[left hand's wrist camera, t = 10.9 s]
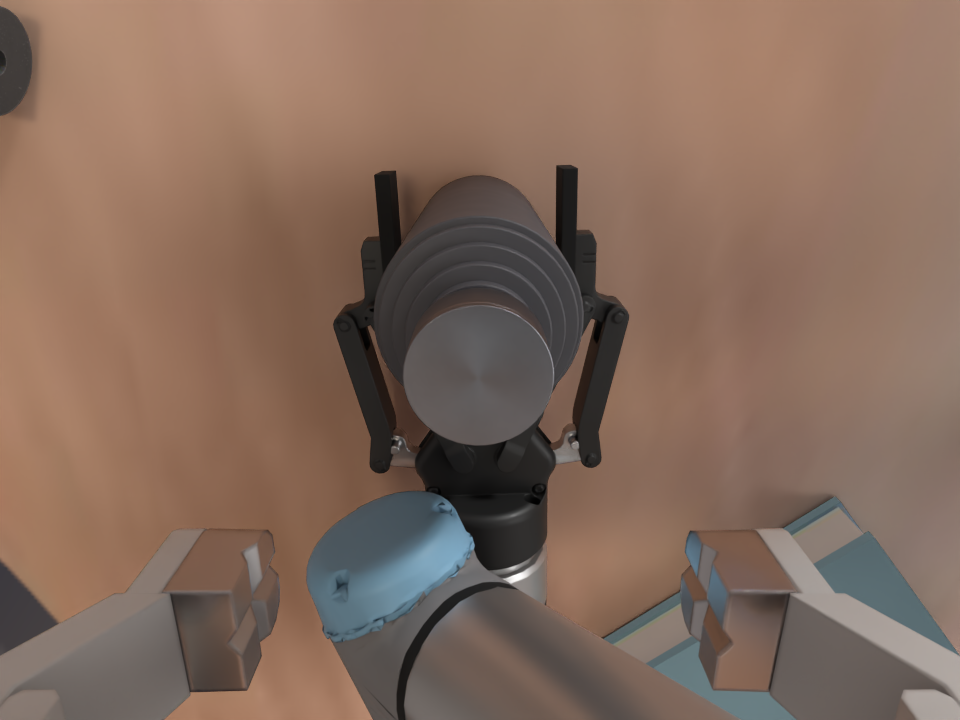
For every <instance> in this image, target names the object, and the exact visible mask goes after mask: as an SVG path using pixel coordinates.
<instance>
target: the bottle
mask: <svg viewBox="0 0 960 720" xmlns="http://www.w3.org/2000/svg"><path fill="white" fill-rule="evenodd" d="M469 288H489V289H494V290H498V291H502V292H504V293H507V294H509V295H511V296H513V297H515V298H517V299H518V300H519V301H521V302H522V303H524V304H525V305H526V306H527V307H528V308H529V309H530V310H531V311H532V312H533V314H534V315H535V316H536V317H537V319H538V321H539V322H540V324H541V326H542V329H543V331H544V334H545V337H546V340H547V343H548V347H549V350H550V353H551V357H552V360H553V366H554V385H553V387H554V386H555V385H556V384H557V383H558V382H559V380H560V379H561V378H562V377H563V376H564V375H565V373H566V371H567V370H568V368H569V367H570V365H571V364H572V361H573V359H574V357H575V355H576V353H577V350H578V347H579V344H580V341H581V336H582V331H583V319H584V311H583V301H582V296H581V292H580V288H579V285H578V283H577V280H576V278H575V275H574V273H573V271H572V269H571V268H570V266H569V264H568V262H567V261H566V259H565V258H564V256H563V254H562V253H561V251H560V250H559V248H558V247H557V245H556V243H555V242H554V240H553V239H552V237H551V236H550V234H549V232H548V231H547V229H546V228H545V226H544V225H543V223H542V221H541V220H540V218H539V217H538V215H537V214H536V212H535V210H534V209H533V207H532V206H531V204H530V203H529V201H528V200H527V199H526V197H525V196H524V195H523V194H522V193H521V192H520V191H519V190H518V189H516V188H515V187H514V186H512V185H510V184H509V183H507V182H505V181H503V180H500V179H498V178H494V177H490V176H468V177H464V178H460V179H457V180H455V181H453V182H450V183H449V184H447V185H446V186H444V187H443V188H441V189H440V190H439V191H438V192H437V193H436V194H435V195H434V196H433V197H432V198H431V199H430V201H429V202H428V204H427V205H426V207H425V208H424V210H423V211H422V213H421V215H420V216H419V218H418V219H417V221H416V222H415V224H414V225H413V227H412V229H411V230H410V232H409V233H408V235H407V236H406V238H405V240H404V241H403V243H402V244H401V246H400V247H399V249H398V250H397V252H396V254H395V255H394V257H393V258H392V260H391V261H390V263H389V264H388V266H387V268H386V270H385V272H384V274H383V276H382V278H381V281H380V283H379V286H378V289H377V293H376V298H375V303H374V329H375V334H376V339H377V343H378V346H379V349H380V352H381V354H382V357H383V359H384V361H385V362H386V364H387V366H388V368H389V369H390V371H391V372H392V374H393V375H394V377H395V378H396V379H397V380H398V381H399V382H400V383H401V384H402V386H403V387H404V384H403V366H404V361H405V357H406V354H407V350H408V347H409V344H410V341H411V338H412V335H413V332H414V329H415V327H416V325H417V323H418V321H419V319H420V318H421V317H422V315H423V314H424V312H425V311H426V310H427V309H428V308H429V307H430V306H431V305H433V304H434V303H435V302H436V301H438V300H439V299H441V298H442V297H444V296H446V295H448V294H450V293H453V292H456V291H459V290H463V289H469Z"/></svg>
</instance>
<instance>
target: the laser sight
mask: <svg viewBox="0 0 960 720" xmlns="http://www.w3.org/2000/svg"><path fill="white" fill-rule="evenodd" d="M31 72H32V53H31V46H30V42H29V39H28V36H27V33H26V31H25V29H24V27H23V25H22V23H21V22H20V20H19V19H18V18H17V17H16V16H15V15H14V14H13V13H12V12H11V11H9V10H8V9H6V8H4V7H1V6H0V116H1V115H5V114H7V113H9V112H11V111H12V110H13V109H15V108H16V107H17V106H18V105H19V103H20V102H21V101H22V99H23V97H24V96H25V94H26V91H27V89H28V86H29V82H30V78H31Z"/></svg>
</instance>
